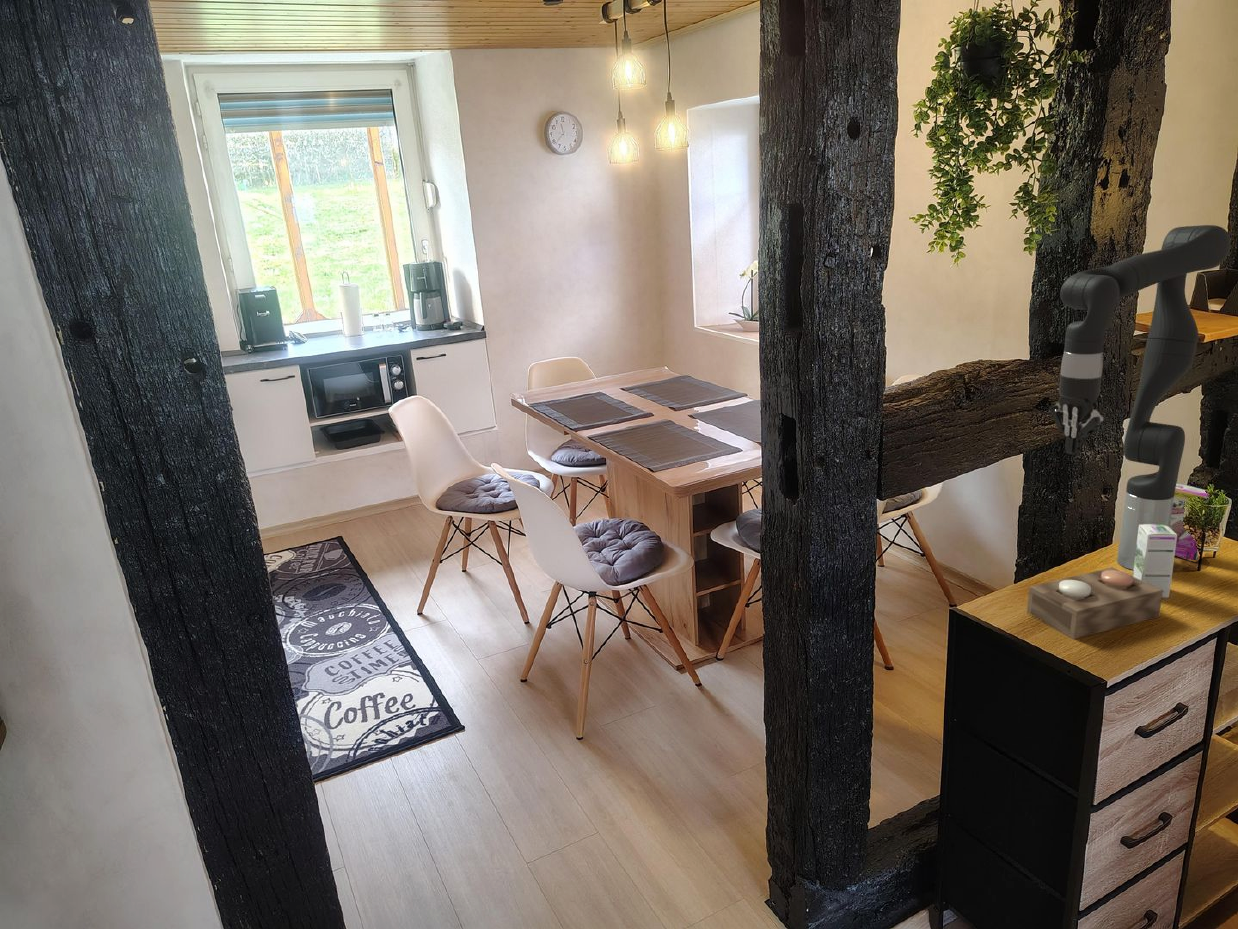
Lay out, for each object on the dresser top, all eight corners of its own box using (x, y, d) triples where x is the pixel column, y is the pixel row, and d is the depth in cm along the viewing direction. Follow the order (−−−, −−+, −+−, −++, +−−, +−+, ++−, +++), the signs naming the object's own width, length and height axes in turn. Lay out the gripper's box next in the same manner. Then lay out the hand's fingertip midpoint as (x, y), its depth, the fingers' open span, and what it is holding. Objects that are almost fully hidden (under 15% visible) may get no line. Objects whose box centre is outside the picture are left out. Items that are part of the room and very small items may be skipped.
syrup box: (1170, 598, 181) (1179, 534, 176) (1139, 597, 182) (1148, 533, 178) (1159, 586, 186) (1168, 524, 182) (1129, 585, 187) (1138, 523, 183)
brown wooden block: (1108, 593, 184) (1112, 567, 183) (1159, 616, 173) (1163, 589, 172) (1026, 613, 178) (1029, 586, 176) (1073, 639, 167) (1077, 611, 165)
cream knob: (1070, 609, 177) (1074, 577, 175) (1093, 621, 172) (1097, 588, 170) (1049, 615, 175) (1052, 583, 173) (1071, 627, 170) (1075, 594, 168)
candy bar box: (1144, 549, 205) (1153, 484, 200) (1155, 543, 207) (1165, 479, 202) (1195, 564, 196) (1206, 496, 191) (1206, 558, 198) (1217, 491, 193)
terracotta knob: (1112, 599, 180) (1116, 568, 178) (1135, 610, 175) (1139, 578, 173) (1091, 604, 179) (1095, 573, 177) (1114, 616, 174) (1118, 583, 172)
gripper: (1122, 376, 172) (1112, 458, 177) (1069, 365, 184) (1061, 443, 189) (1094, 381, 170) (1084, 464, 175) (1041, 369, 182) (1034, 448, 187)
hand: (1072, 453), depth 182 cm, fingers closed
